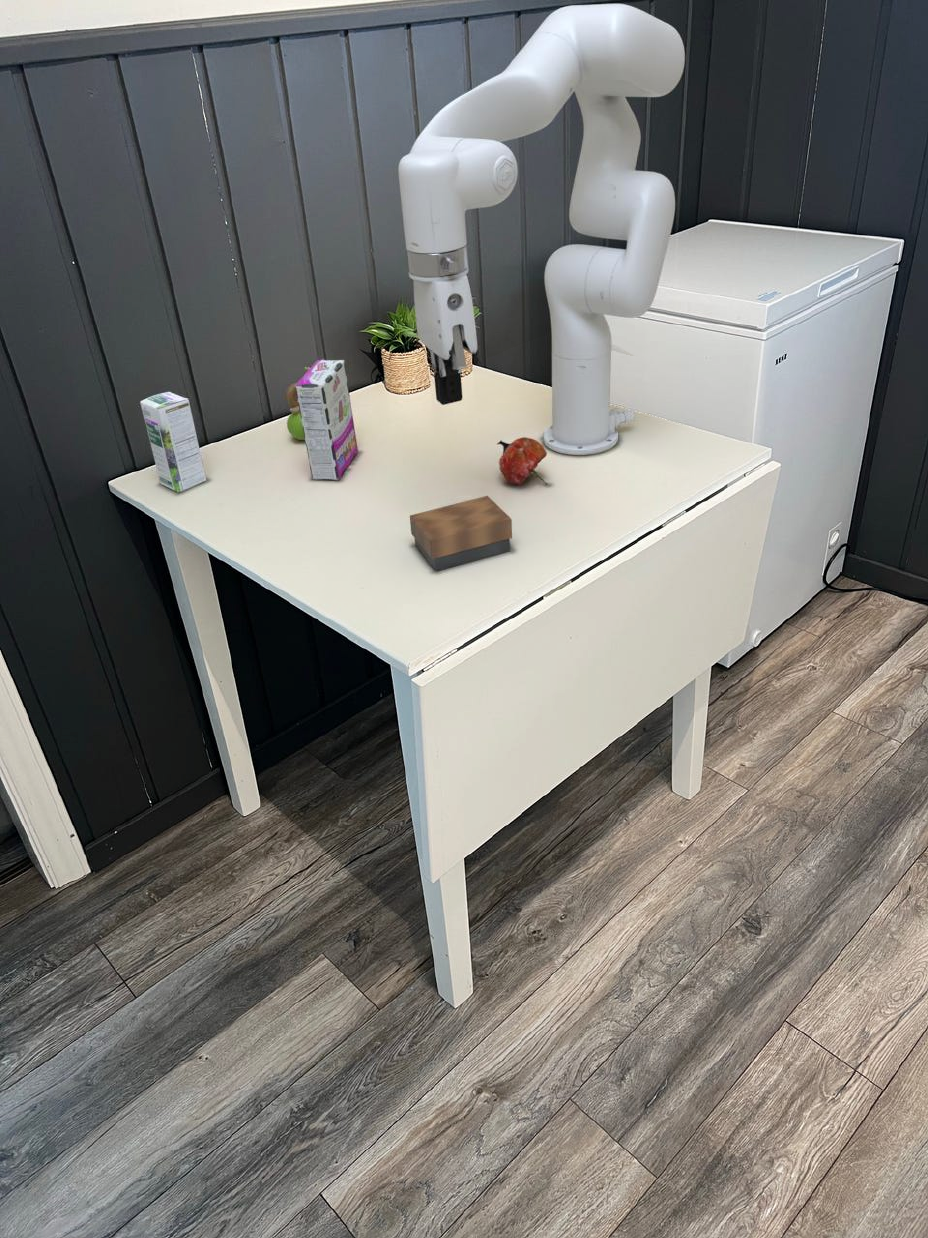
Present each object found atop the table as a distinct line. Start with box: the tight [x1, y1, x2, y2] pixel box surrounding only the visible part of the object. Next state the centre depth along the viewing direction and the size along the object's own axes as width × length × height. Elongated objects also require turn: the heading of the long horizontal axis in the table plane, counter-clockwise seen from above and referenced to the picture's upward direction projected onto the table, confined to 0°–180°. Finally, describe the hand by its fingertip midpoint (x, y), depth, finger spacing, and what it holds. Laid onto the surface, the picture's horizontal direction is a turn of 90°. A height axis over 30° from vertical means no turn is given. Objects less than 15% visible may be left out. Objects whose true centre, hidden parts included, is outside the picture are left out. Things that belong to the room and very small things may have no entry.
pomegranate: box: [497, 436, 548, 486], centre depth 148 cm, size 7×7×10 cm
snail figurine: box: [285, 366, 311, 441], centre depth 165 cm, size 5×6×12 cm
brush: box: [409, 495, 513, 572], centre depth 132 cm, size 12×5×8 cm
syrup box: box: [139, 391, 207, 493], centre depth 152 cm, size 6×6×14 cm
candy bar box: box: [295, 359, 359, 481], centre depth 154 cm, size 11×5×16 cm, turn 168°
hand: (449, 400), depth 128 cm, fingers closed
